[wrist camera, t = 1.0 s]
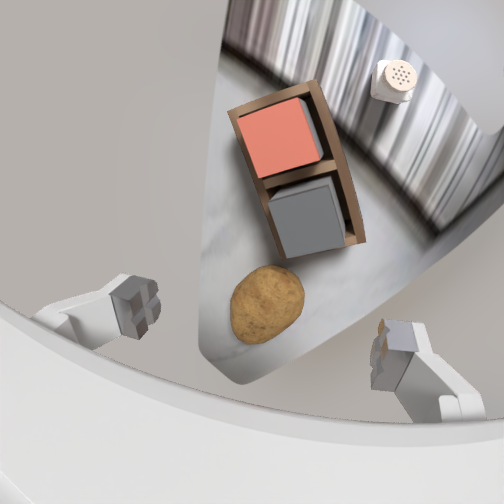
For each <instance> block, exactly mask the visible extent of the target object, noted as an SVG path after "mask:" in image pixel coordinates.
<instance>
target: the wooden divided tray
mask: <svg viewBox="0 0 504 504" xmlns="http://www.w3.org/2000/svg"><path fill="white" fill-rule="evenodd" d="M297 97H298V98H299V99H301V100H303V101H305V102H306V104H307V107H308V110H309V112H310V115H311V118H312V120H313V123H314V126H315V129H316V132H317V134H318V137H319V140H320V143H321V146H322V149H323V152H324V154H323V156H322V157H321V159H320V160H319V161H315V162H312V163H308V164H305V165H301V166H298V167H294V168H291V169H288V170H284V171H281V172H278V173H274V174H271V175H268V176H265V177H262V178H258V176H257V173H256V170H255V167H254V165H253V162H252V159H251V157H250V154H249V151H248V149H247V146H246V143H245V141H244V138H243V135H242V133H241V130H240V128H239V125H238V122H237V120H236V119H239V118H241V117H244V116H246V115H249V114H252V113H254V112H257V111H260V110H262V109H265V108H268V107H271V106H273V105H276V104H279V103H282V102H285V101H288V100H291V99H294V98H297ZM227 113H228V115H229V118H230V120H231V123H232V125H233V128H234V131H235V133H236V136H237V138H238V141H239V144H240V146H241V149H242V152H243V154H244V157H245V160H246V162H247V165H248V168H249V170H250V173H251V176H252V178H253V181H254V184H255V186H256V189H257V192H258V195H259V197H260V200H261V203H262V206H263V208H264V211H265V214H266V217H267V219H268V222H269V225H270V228H271V231H272V233H273V236H274V239H275V242H276V245H277V248H278V250H279V253H280V256H281V259H282V260H285V259H290V258H287V257H286V254H285V251H284V249H283V246H282V243H281V240H280V237H279V234H278V231H277V228H276V226H275V223H274V220H273V217H272V214H271V211H270V209H269V206H268V202H269V201H270V200H271V199H272V197H273V196H274V195H275V194H276V193H277V192H278V191H279V190H280V189H282V188H285V187H289V186H292V185H296V184H299V183H303V182H307V181H310V180H314V179H318V178H321V177H325V176H329V175H331V177H332V180H333V184H334V187H335V190H336V194H337V197H338V201H339V204H340V208H341V211H342V215H343V219H344V222H345V246H343V247H346V246H351V245H355V244H360V243H364V242H366V238H365V231H364V225H363V219H362V215H361V211H360V207H359V203H358V200H357V196H356V192H355V189H354V185H353V181H352V178H351V174H350V171H349V168H348V164H347V161H346V158H345V155H344V151H343V148H342V145H341V142H340V139H339V136H338V133H337V130H336V127H335V124H334V121H333V119H332V116H331V113H330V110H329V107H328V105H327V102H326V99H325V97H324V94H323V92H322V89H321V87H320V85H319V84H318V82H317V80H316V79H315V80H311V81H308V82H305V83H302V84H299V85H296V86H293V87H290V88H287V89H284V90H281V91H278V92H275V93H273V94H270V95H267V96H264V97H262V98H259V99H256V100H254V101H251V102H249V103H246V104H244V105H241V106H239V107H236V108H234V109H232V110H229V111H227ZM339 248H341V247H339ZM334 249H337V248H334ZM330 250H332V249H330ZM325 251H328V250H325ZM320 252H323V251H320ZM316 253H318V252H316ZM311 254H313V253H311ZM306 255H309V254H306ZM302 256H304V255H302ZM297 257H299V256H297ZM292 258H295V257H292Z"/></svg>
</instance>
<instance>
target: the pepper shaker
mask: <svg viewBox="0 0 504 504" xmlns="http://www.w3.org/2000/svg"><path fill="white" fill-rule="evenodd" d="M416 82H417V76H416V71H415V70H414V69H413V67H412V66H411V65H410V64H409V63H407V62H405V61H403V60H393V61H385V60H381V61H379V62H378V63H377V65H376V67H375V68H374V70H373V72H372V83H371V97H373V98H374V99H378V100H382V101H387V102H391V103H395V104H401V103H404V102H407V101H410V99H411V98H412V92H413V88H414V87H415V85H416Z"/></svg>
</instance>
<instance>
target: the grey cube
mask: <svg viewBox="0 0 504 504" xmlns="http://www.w3.org/2000/svg"><path fill="white" fill-rule="evenodd" d="M268 206H269V209H270V211H271V214H272V217H273V220H274V223H275V226H276V228H277V231H278V234H279V237H280V240H281V243H282V246H283V249H284V251H285V254H286V257H287V258H292V257H297V256H302V255H306V254H311V253H316V252H320V251H325V250H330V249H334V248H339V247H343V246H345V222H344V219H343V215H342V211H341V208H340V204H339V201H338V197H337V194H336V190H335V187H334V184H333V180H332V177H331V175H329V176H325V177H321V178H318V179H314V180H310V181H307V182H303V183H299V184H296V185H292V186H289V187H285V188H282V189H280V190H279V191H278V192H277V193H276V194H275V195H274V196H273V197H272V199H271V200H270V201H269V202H268Z"/></svg>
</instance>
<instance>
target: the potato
mask: <svg viewBox="0 0 504 504" xmlns="http://www.w3.org/2000/svg"><path fill="white" fill-rule="evenodd" d="M304 297H305V293H304V289H303V287H302V284H301V282H300V280H299V278H298V277H297V276H296V275H295V274H293V273H292V272H291V271H289V270H288V269H285V268H282V267H279V266H276V265H269V266H263V267H259V268H258V269H256V270H254V271H253V272H251V273H250V274H249V275H248V276H247V277H246V278H244V279H243V280H242V281H241V282H240V283H239V284H238V285H237V286H236V288H235V290H234V293H233V295H232V298H231V325H232V330H233V332H234V333H235V335H236V336H237V338H238V339H239V340H241V341H243V342H245V343H247V344H250V345H251V344H258V343H264V342H266V341H268V340H270V339H272V338H274V337H275V336H277V335H278V334H280V333H281V332H282V331H284V330H285V329H286V328H288V327H289V326H290V325H291V324H292V323H293V322H294V321H295V320H296V319H297V318H298V317H299V316H300V315H301V312H302V309H303V306H304Z"/></svg>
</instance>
